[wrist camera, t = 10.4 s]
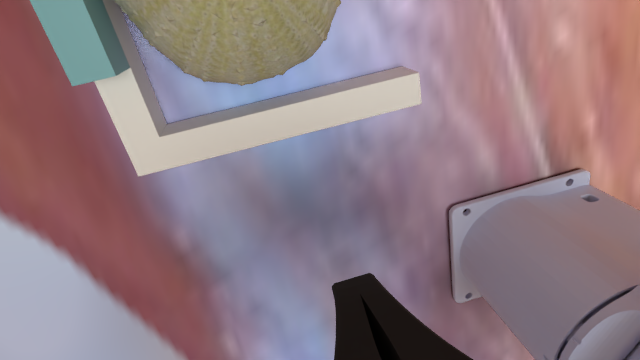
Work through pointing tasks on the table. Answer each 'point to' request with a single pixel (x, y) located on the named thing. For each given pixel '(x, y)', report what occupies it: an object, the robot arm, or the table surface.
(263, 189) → the table surface
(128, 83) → the comb rack
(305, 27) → the sea urchin shell
